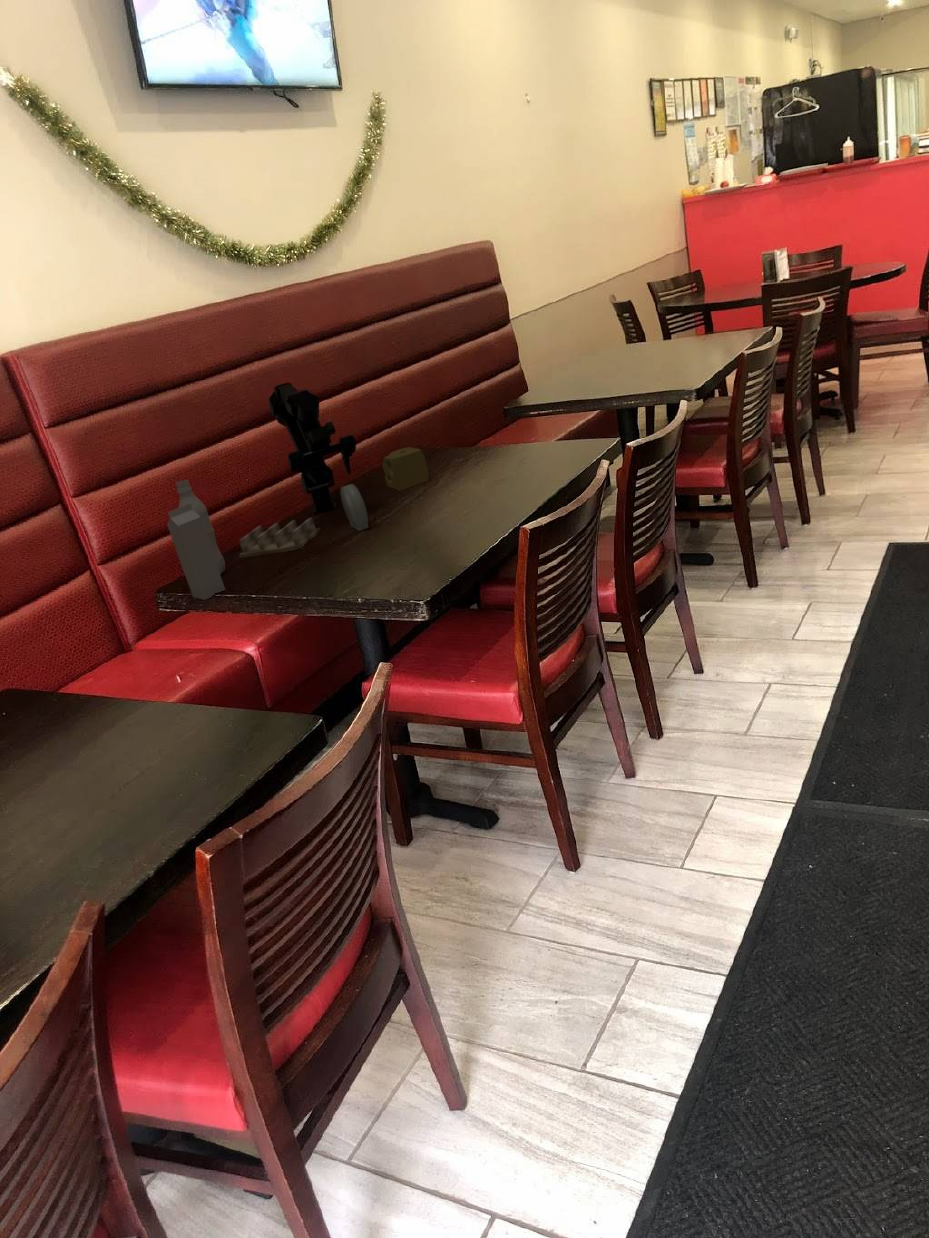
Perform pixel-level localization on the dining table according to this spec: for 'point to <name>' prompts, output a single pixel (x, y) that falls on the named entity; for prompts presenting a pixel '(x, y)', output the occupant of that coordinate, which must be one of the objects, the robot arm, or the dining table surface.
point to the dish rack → (277, 538)
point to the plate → (354, 507)
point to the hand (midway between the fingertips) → (333, 479)
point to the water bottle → (201, 510)
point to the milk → (194, 552)
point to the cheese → (405, 468)
